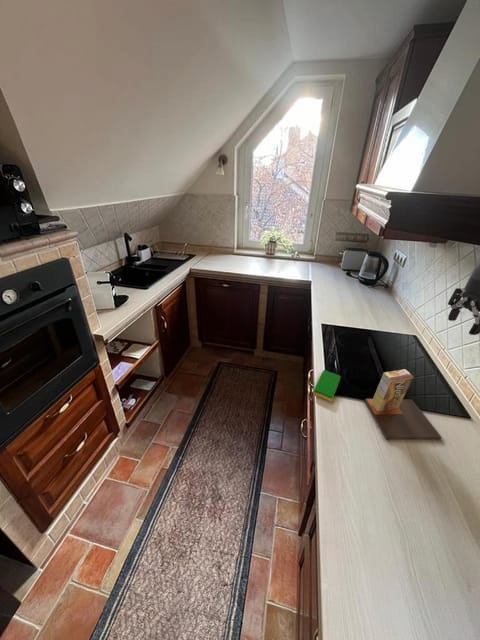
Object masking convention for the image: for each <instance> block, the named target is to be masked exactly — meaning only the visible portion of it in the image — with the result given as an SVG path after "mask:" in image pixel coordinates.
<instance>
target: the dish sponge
mask: <svg viewBox="0 0 480 640" xmlns="http://www.w3.org/2000/svg"><path fill="white" fill-rule="evenodd" d="M341 377H342V376H341V375H340V374H336V373H333V372H331V371H329V370H326V369H324V370H322V372H321V374H320V377H319V379H318V380H317V382H316V385H315V386H314V389H313V391H312V394H313V396H316V397H318V398H321V399H323V400H325V401H328V402H333V399H334V397H335V394H336V392H337V388H338V387H339V384H340V382H341Z"/></svg>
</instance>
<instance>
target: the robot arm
mask: <svg viewBox="0 0 480 640" xmlns="http://www.w3.org/2000/svg"><path fill="white" fill-rule="evenodd" d="M447 305H448V306H450V312H449V313H448V318H447V320H448V321H450V322H455V321H456V320H457V318H458V317H459V315H460V313H461V310H462V309H467V310H468V311H469V312H471V313H472V317H474V322H473V324H472V326H471V328H470V329H469V331H468V334H469V335H470V336H476V335H479V334H480V259H479V260H478V262H477V263H476V264H475V266H474V267H473V270H472V272H471V274H470V275H469V278H468V281H467V282H466V284H465V286H464V288H463V287H456V288H455V289H454V291H453V293H452V294H451V296H450V298H449V300H448V301H447Z"/></svg>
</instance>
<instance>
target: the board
mask: <svg viewBox="0 0 480 640" xmlns="http://www.w3.org/2000/svg"><path fill="white" fill-rule="evenodd" d="M372 400H373V398H365V399H364V403H365V405H366V407H367V408H368V410H369V412H370V414H371V415H372V418H373V419H374V421H375V423H376V425H377V426H378V428H379V430H380V431H381V433H382V436H383V437H384V439H385V440H442V438H443V437H442V436H441V435H440V433H439V432H438V430H436V428H435V427H434V425H433V424H432V423H431V422H430V420H429V419H428V418H427V416H426V415H425V414H424V413H423V412H422V410H421V409H420V408H419V407H418V405H417V404H416V403H415V402H414V400H413V399H411V398H409V399H408V398H406V399H405V398H403V399H402V401H401V403H400V405H399V407H398V408H395V409H390V410H385V411H380V412H377V410H376V409H375V408H374V407H373V406H372V405H371V402H372Z"/></svg>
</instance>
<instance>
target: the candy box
mask: <svg viewBox="0 0 480 640" xmlns="http://www.w3.org/2000/svg"><path fill="white" fill-rule="evenodd" d="M414 378H415V376H414V375H412V374H411V373H410V372H409V371H408V370H407V369H405V368H403V369H398V370H392V371H385V372H383V374H382V376H381V378H380V381H379V383H378V385H377V388H376V391H375V393H374V395H373V398H372V399H373V400H372V402H371V405H372V406H373V407H374V408H375V409H376V410H377V412H380V411H385V410H390V409H395V408H398V407H399V405H400V403H401V401H402V399H404V398H405V396H406V394H407V391H408V390H409V388H410V385H411V383H412V382H413V380H414Z"/></svg>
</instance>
